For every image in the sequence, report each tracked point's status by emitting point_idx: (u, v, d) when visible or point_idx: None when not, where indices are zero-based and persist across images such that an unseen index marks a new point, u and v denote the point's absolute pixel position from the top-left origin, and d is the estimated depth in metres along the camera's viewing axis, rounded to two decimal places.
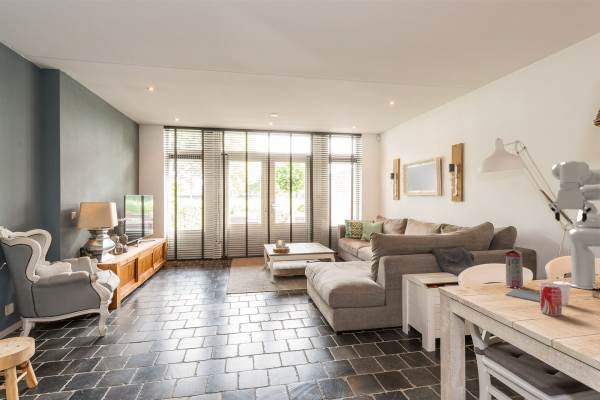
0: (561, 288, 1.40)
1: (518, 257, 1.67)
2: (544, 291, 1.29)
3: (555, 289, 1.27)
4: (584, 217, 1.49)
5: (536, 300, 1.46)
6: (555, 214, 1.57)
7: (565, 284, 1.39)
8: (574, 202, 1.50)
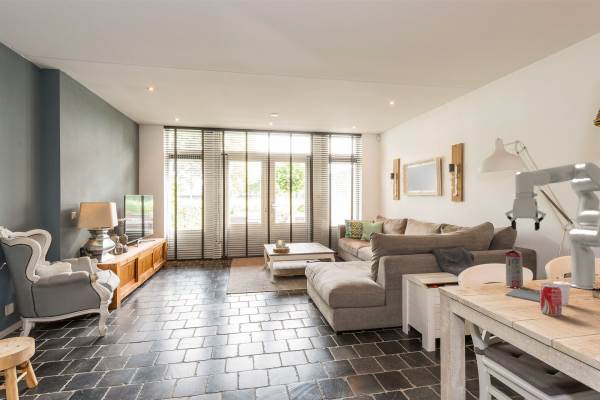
0: (561, 288, 1.40)
1: (518, 257, 1.67)
2: (544, 291, 1.29)
3: (555, 289, 1.27)
4: None
5: (536, 300, 1.46)
6: (511, 222, 1.62)
7: (565, 284, 1.39)
8: (527, 211, 1.55)
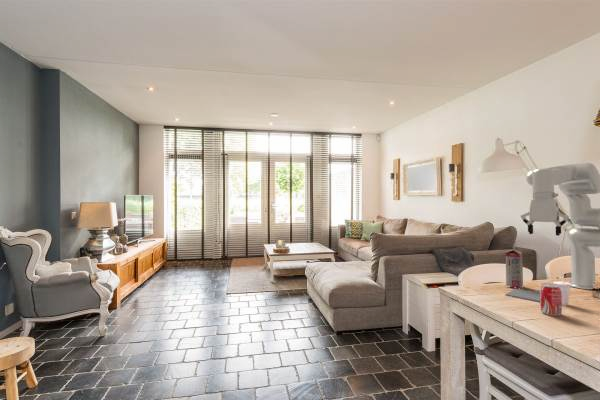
0: (561, 288, 1.40)
1: (518, 257, 1.67)
2: (544, 291, 1.29)
3: (555, 289, 1.27)
4: (558, 230, 1.35)
5: (536, 300, 1.46)
6: (528, 226, 1.43)
7: (565, 284, 1.39)
8: (547, 214, 1.36)
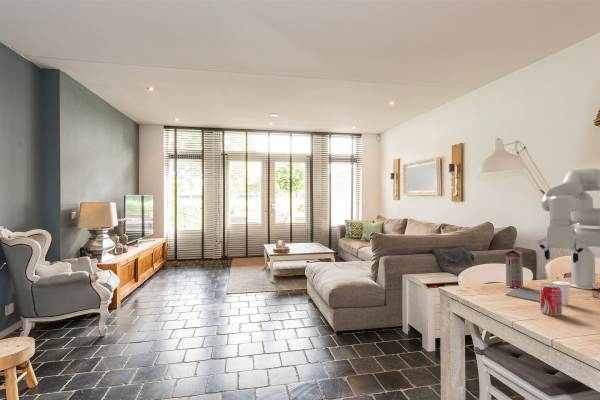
0: (561, 288, 1.40)
1: (518, 257, 1.67)
2: (544, 291, 1.29)
3: (555, 289, 1.27)
4: (575, 258, 1.37)
5: (536, 300, 1.46)
6: None
7: (565, 284, 1.39)
8: (565, 241, 1.38)
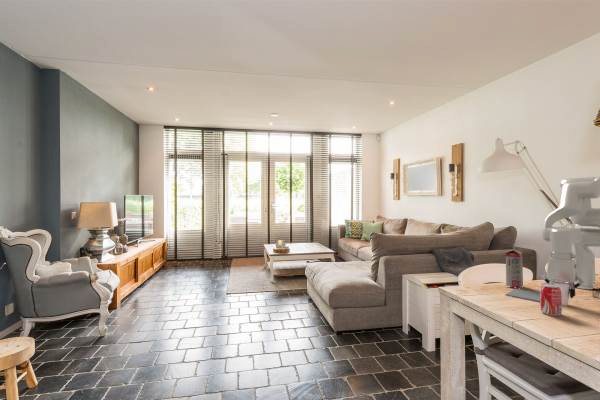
0: (561, 288, 1.40)
1: (518, 257, 1.67)
2: (544, 291, 1.29)
3: (555, 289, 1.27)
4: (572, 293, 1.38)
5: (536, 300, 1.46)
6: None
7: (565, 284, 1.39)
8: (566, 274, 1.38)
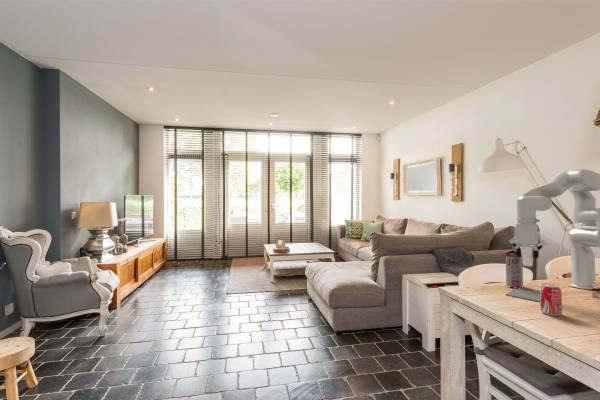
0: (526, 250, 1.53)
1: (518, 257, 1.67)
2: (544, 291, 1.29)
3: (555, 289, 1.27)
4: (536, 254, 1.51)
5: (536, 300, 1.46)
6: (516, 250, 1.58)
7: (530, 246, 1.53)
8: (530, 237, 1.52)
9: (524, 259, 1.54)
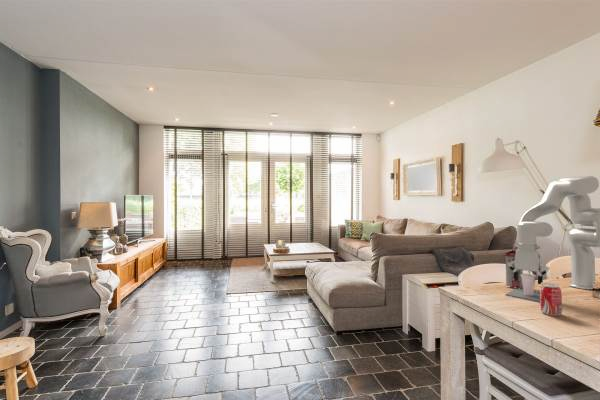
0: (527, 279, 1.53)
1: None
2: (544, 291, 1.29)
3: (555, 289, 1.27)
4: None
5: (536, 300, 1.46)
6: None
7: (531, 276, 1.53)
8: (530, 264, 1.52)
9: (525, 288, 1.54)
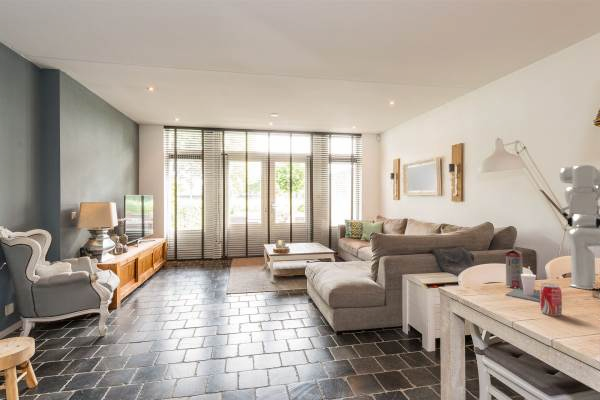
0: (527, 279, 1.53)
1: (518, 257, 1.67)
2: (544, 291, 1.29)
3: (555, 289, 1.27)
4: (598, 223, 1.44)
5: (536, 300, 1.46)
6: None
7: (531, 276, 1.53)
8: (588, 207, 1.46)
9: (525, 288, 1.54)
